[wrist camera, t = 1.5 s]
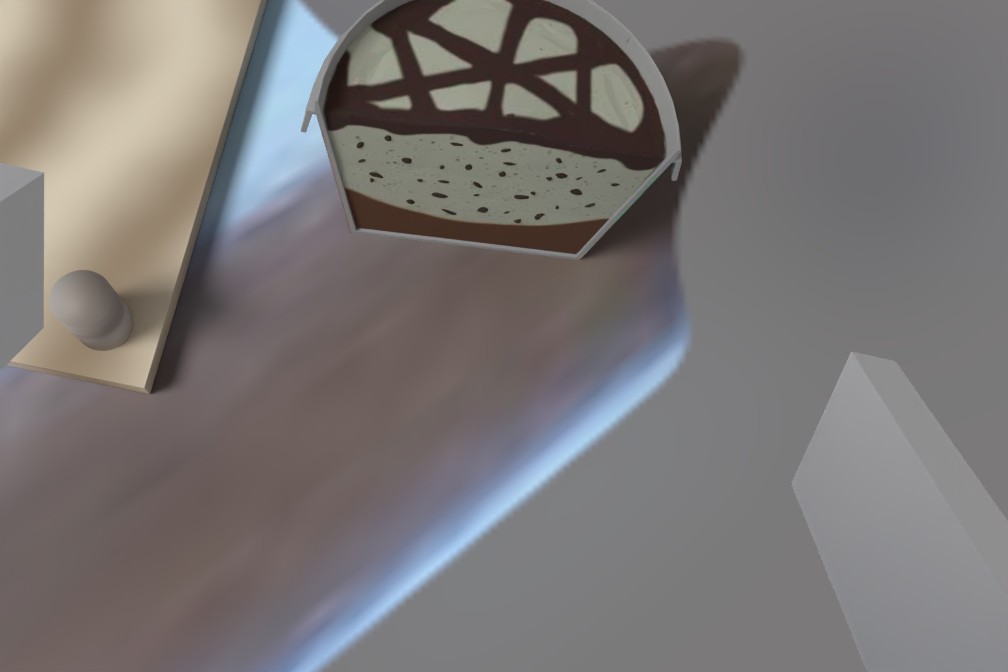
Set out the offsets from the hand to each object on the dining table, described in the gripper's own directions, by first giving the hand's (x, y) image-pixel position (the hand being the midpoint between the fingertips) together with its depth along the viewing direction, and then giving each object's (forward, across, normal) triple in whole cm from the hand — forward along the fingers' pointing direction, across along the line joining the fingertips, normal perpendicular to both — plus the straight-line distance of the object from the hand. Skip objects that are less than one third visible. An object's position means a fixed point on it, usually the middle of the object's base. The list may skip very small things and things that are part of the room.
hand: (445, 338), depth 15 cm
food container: (+24, 0, -5) cm, 25 cm away
